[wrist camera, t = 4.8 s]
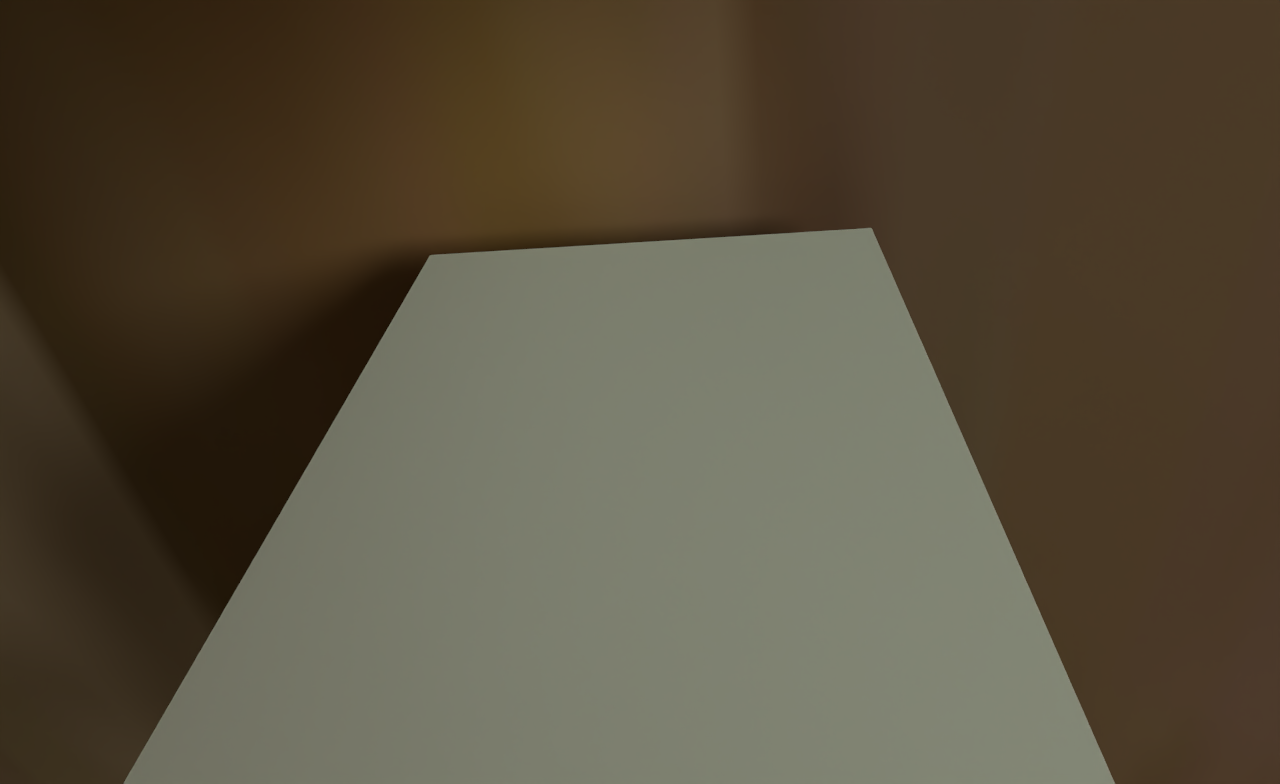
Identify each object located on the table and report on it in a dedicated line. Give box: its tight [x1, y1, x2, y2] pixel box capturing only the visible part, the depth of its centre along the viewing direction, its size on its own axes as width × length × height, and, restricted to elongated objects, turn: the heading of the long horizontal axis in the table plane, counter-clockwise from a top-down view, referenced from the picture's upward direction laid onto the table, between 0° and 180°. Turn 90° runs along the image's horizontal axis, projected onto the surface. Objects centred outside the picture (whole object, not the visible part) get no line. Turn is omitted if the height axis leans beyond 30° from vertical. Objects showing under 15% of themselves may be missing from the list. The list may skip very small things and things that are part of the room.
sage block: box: [123, 228, 1115, 784], centre depth 9 cm, size 9×5×7 cm, turn 5°
